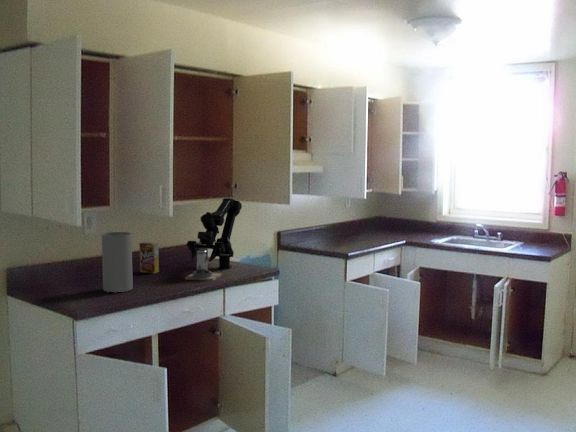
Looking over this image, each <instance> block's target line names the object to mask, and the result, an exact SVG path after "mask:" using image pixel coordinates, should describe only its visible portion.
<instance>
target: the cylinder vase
mask: <svg viewBox="0 0 576 432" xmlns="http://www.w3.org/2000/svg"><path fill="white" fill-rule="evenodd" d="M132 234H133V233H132V232H128V231H127V232H126V231H113V232H103V233H101V255H102V256H101V257H102V259H101V260H102V261H101V262H102V290H103V291H104V292H105V291H106V293H109V292H114V293H113V294H115V293H116V294H118V293H117V292H122V293H126V292H130V291H131V290H133V288H134V287H133V285H134V283H133V248H132V246H133V245H132V242H133V240H132V238H133V237H132Z"/></svg>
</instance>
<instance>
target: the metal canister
mask: <svg viewBox="0 0 576 432" xmlns="http://www.w3.org/2000/svg"><path fill="white" fill-rule="evenodd" d="M208 250H209V249H198V250H197V251H196V253H197V255H196V271H197V273H200V274H203V273H208V271H209V269H208V267H209V266H208V264H209V263H208V262H209V258H208V257H209V256H208V254H209V252H208Z"/></svg>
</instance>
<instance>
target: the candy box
mask: <svg viewBox="0 0 576 432" xmlns="http://www.w3.org/2000/svg"><path fill="white" fill-rule="evenodd" d="M159 254H160V253H159V242H148V241H142V242H139V272H140V273H146V274H158V273H159V272H160V268H159V267H160V265H159V263H160V262H159V261H160V259H159V257H160V256H159Z"/></svg>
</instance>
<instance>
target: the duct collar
mask: <svg viewBox="0 0 576 432" xmlns="http://www.w3.org/2000/svg"><path fill="white" fill-rule="evenodd" d="M212 273H213V272H212V271H211V270H208V273H203V274H200V273H197V270H194V271H192V274H193V277H195V278H208V277H211V276H212Z"/></svg>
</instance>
